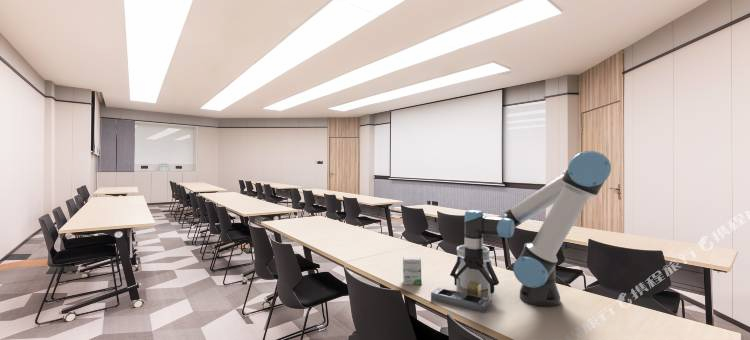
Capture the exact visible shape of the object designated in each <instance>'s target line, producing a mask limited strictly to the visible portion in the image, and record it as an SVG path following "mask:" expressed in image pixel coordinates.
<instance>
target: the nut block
mask: <svg viewBox="0 0 750 340" xmlns="http://www.w3.org/2000/svg"><path fill="white" fill-rule="evenodd" d="M466 290H467V293H466V294H470V295H475V296H479V297H482V290H481V283H479V282H474V281H470V282H469V283H468V284H467V289H466Z"/></svg>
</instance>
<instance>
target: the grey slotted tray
mask: <svg viewBox="0 0 750 340" xmlns="http://www.w3.org/2000/svg"><path fill="white" fill-rule="evenodd" d="M430 300H431V301H434V300H435V302H438V303H442V304H447V305H449V306H450V305H451V306H453V307H457V308H463V309H466V310H471V311H474V312H478V313H482V314H484V313H485V312H487V310H488V309H489V308H490V304H491V301H490V299H488V297H483V296H481V297H479V296H475V295H470V294H467V293H465V292H461V291H460V292H457V291H456V290H452V289H447V288H445V287H444V288H443V287H439V286H438V287H437V288H435V289H434V290H432V291H431V292H430Z"/></svg>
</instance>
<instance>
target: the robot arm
mask: <svg viewBox="0 0 750 340" xmlns="http://www.w3.org/2000/svg"><path fill="white" fill-rule="evenodd" d="M568 162H569V163H568V166H567V167H566V168H564V169H563V173H562V174H561V175H559V176H558V177H556V178H555V179H553V180H552V181H550V182H549V183H547V184H546V185H544V186H543V187H541V188H540V189H538V190H537V191H535V192H534V193H532V194H530V195H529V196H527V197H526V198H524V199H523V200H521V201H520V202H518V203H517V204H516V205H514V206H513V207H511V208H510V209H508V210H506V211H504V212H503V213H501V214H500V215H498V216H496V217H495V216H486V215H484V212H483V211H482V210H477V209H467V210H466V211H465V212H464V221H463V222H464V245H465V246H466V247H465V257H462V256H461V255H460V256H458V257H457V256H456V262H455V264H454V266H453V268H452V270H451V272H450V274H449V276H450V277H452V278H453V279H454V286H455V287H456V288H455V289H456V290H455V291H457V292H461V287H460V277H459V276H460V275H461V274H462V272H463V271H464V270H465V269H466V268H467V267H468V268H469V269H474V270H479V271H480V272H481V273H482V275H483V276H484V277H485V279H486V280H487V281H488V283H489V285H488V289H487V298H488V299H490V302H491V301H492V299H493V294H494V293H495V286H498V285H499V283H500V281H499V279H498V277H497V274H496V272H495V271H494V268H493V266H492V261H491V260H490V259H489V260H488V261H484V260H483V248H482V247H483V246H484V235H487V236H492V237H493V236H495V237H501V238H512V237H513V236H514V233H515V228H517V227H519V226H520V225H522V224H523V223H525V222H526V221H528V220H530V219H531V218H532V217H534V216H537V215H538V214H539V213H541V212H542V211H545V210H546V209H548V208H549V207H551V206H552V207H551V208H550V210H549V212H548V214H547V216H546V218H545V219H544V221H543V223H542V224H541V226H540V229H539V230H538V232H537V234H536V236H535V237H534V239H533V241H531V242H526V243H524V246H523V249H522V252H521V254H520V255H519V256H518V258H517V259H516V260H514V264H513V269H512V270H513V274H514V276H515V278H516V279H517V280H516V281H518V282H519V284H521V286H520V289H519V298H520V299H521V300H522V301H523V302H525V303H528V304H531V305H534V306H539V307H547V308H549V307H553V308H554V307H556V306H557V307H558V306H559V305H560V304H561V296H560V293H559V290H558V286H557V284H556V265H557V262H558V261H559V260H558V258H557V254H558V252H559V250H560V249H561V247H562V245H563V243H564V242H565V240H566V237H567V236H568V235H569V233H570V231H571V229H572V228H573V226H574V224H575V223H576V222H577V219H578V218H579V216H580V214H581V212H582V210H583V209H584V207H585V205H586V204H587V203H588V200H589V199H590V198H592V197H596V196H597V195H598V193H599V192H600V190H601V188H602V187H603V186H604V183H605V182H606V180H608V178H609V176H610V175H611V171H612V166H611V161H610V159H609V158H608V157H607V156H606V155H604V154H603V153H600V152H598V151H595V150H585V151H581V152H578V153H577V154H576V155H574V156H573V157H572V158H571V159H570V161H568ZM463 260H464V262H465V263H466V264H465V265H464V266H463V268H462V269H461V270H460V271H459V272H458V267H459V265H460V263H461V262H462V261H463ZM483 264H485V265H486V266H487V269H488V271H489V274H488V273H487V272H486V270H485V268H484V267H483ZM456 272H457V273H456Z"/></svg>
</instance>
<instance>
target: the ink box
mask: <svg viewBox="0 0 750 340" xmlns="http://www.w3.org/2000/svg"><path fill="white" fill-rule="evenodd" d="M402 275H403V276H402V277H403V279H402V280H403V285H406V284H409V286H410V285H415V286H416V285H417V286H418V285H422V259H421V257H406V256H405V257H403V258H402Z"/></svg>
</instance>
